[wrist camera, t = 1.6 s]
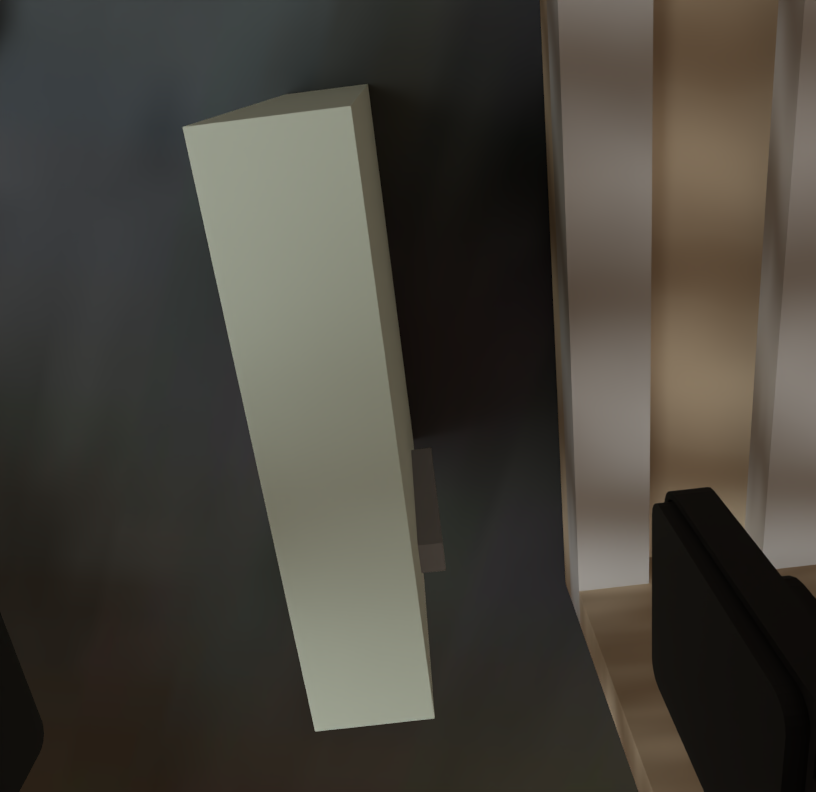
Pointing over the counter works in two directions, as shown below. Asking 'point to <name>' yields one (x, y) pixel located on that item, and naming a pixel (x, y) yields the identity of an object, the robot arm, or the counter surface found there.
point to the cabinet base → (678, 305)
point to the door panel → (325, 392)
